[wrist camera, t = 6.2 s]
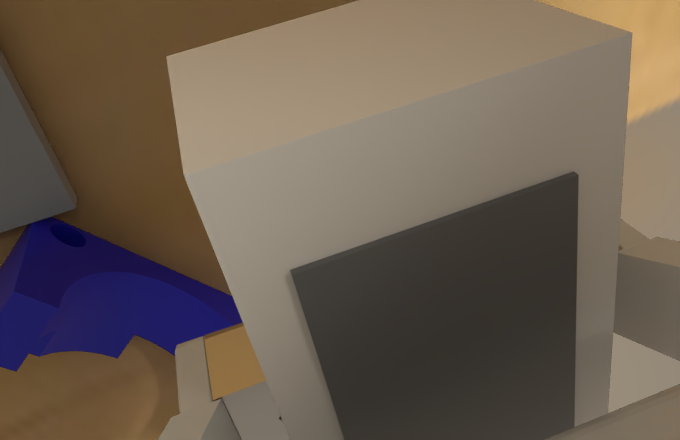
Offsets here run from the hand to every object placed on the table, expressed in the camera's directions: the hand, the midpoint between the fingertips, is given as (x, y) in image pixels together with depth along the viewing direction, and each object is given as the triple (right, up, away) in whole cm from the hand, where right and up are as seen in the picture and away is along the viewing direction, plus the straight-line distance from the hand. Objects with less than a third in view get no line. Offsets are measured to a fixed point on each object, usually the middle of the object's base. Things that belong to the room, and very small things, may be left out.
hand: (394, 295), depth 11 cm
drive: (0, +1, +1) cm, 2 cm away
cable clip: (-10, -2, +17) cm, 20 cm away
